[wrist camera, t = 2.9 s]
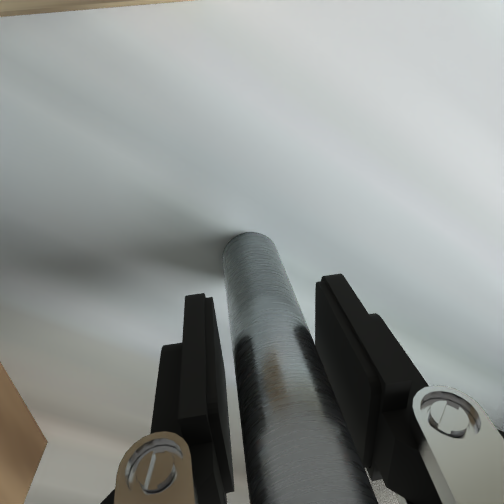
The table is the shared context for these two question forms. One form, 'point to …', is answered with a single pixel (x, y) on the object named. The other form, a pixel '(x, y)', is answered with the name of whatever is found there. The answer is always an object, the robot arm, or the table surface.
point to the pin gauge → (285, 389)
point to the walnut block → (17, 444)
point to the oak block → (66, 5)
